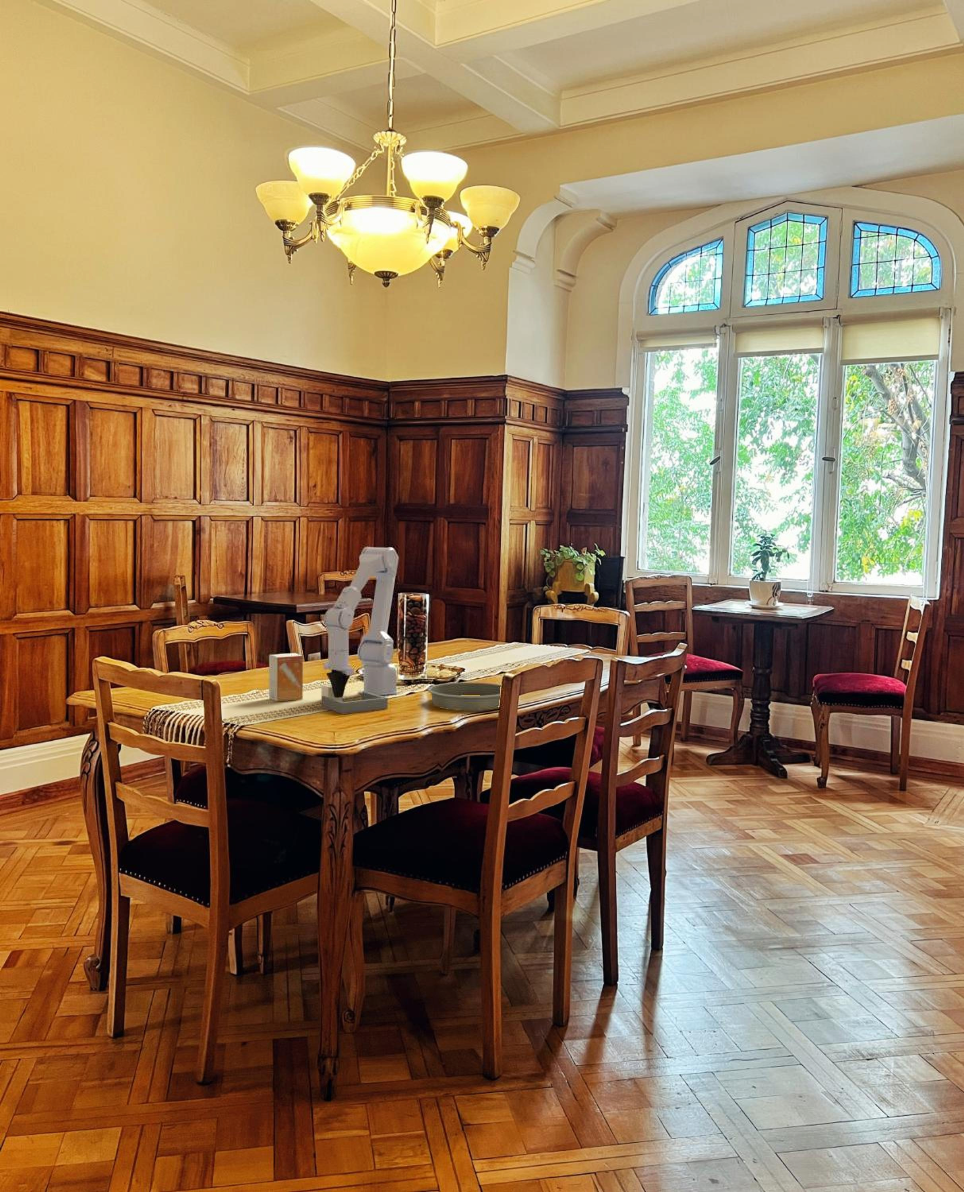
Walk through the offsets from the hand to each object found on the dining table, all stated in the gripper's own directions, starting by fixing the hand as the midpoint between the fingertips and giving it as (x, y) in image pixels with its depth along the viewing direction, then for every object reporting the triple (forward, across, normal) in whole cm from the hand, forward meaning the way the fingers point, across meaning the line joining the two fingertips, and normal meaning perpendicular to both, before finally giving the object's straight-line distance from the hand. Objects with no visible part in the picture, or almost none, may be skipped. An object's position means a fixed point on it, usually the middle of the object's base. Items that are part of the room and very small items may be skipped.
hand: (338, 697), depth 289 cm
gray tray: (+2, +9, 0) cm, 9 cm away
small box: (+2, -14, -10) cm, 17 cm away
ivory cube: (+2, -4, 0) cm, 4 cm away
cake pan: (+2, +21, +31) cm, 38 cm away
